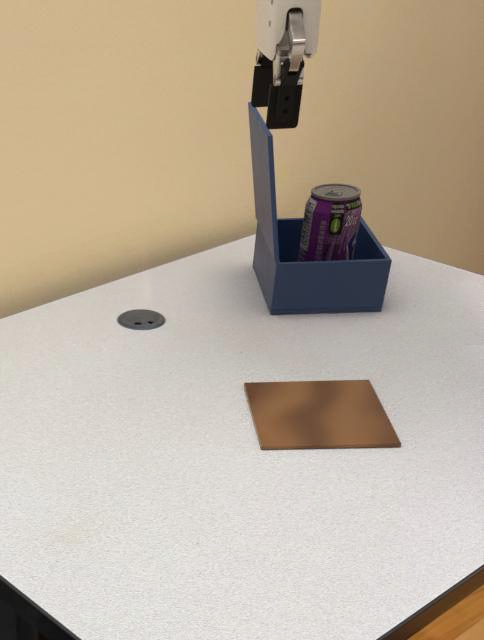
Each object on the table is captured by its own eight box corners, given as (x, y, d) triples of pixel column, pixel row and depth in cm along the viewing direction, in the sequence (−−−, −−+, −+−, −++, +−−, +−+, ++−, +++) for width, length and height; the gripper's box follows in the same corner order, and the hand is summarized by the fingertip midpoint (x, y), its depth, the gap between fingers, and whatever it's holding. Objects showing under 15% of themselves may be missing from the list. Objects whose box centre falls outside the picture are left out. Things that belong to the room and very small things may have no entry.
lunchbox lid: (252, 101, 116) (247, 102, 116) (272, 135, 103) (267, 136, 103) (259, 216, 125) (255, 217, 125) (279, 260, 112) (274, 261, 112)
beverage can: (338, 296, 118) (354, 201, 110) (286, 287, 121) (299, 194, 114) (355, 278, 123) (372, 185, 115) (305, 270, 126) (318, 179, 118)
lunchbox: (352, 262, 128) (360, 215, 124) (381, 311, 115) (392, 260, 111) (252, 266, 129) (257, 219, 125) (270, 314, 116) (276, 264, 112)
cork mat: (368, 382, 101) (369, 379, 101) (400, 446, 91) (401, 443, 90) (243, 385, 102) (243, 382, 102) (260, 449, 92) (261, 446, 91)
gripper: (357, -78, 78) (326, 135, 89) (315, -91, 91) (292, 97, 102) (270, -73, 79) (250, 139, 90) (241, -86, 92) (226, 100, 103)
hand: (273, 116), depth 96 cm, fingers open, 9 cm apart
